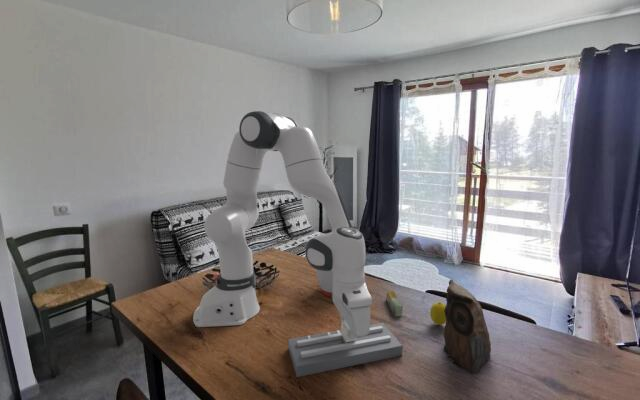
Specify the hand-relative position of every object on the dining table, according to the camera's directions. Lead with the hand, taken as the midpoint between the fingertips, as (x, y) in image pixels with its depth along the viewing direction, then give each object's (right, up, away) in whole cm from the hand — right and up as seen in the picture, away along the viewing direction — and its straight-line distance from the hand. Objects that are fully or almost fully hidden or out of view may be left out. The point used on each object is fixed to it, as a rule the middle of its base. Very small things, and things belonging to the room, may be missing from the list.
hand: (348, 332), depth 91 cm
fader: (0, -3, 0) cm, 3 cm away
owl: (+33, -6, -2) cm, 33 cm away
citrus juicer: (-3, +1, +38) cm, 38 cm away
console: (-1, -6, +1) cm, 6 cm away
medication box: (+18, -2, +25) cm, 31 cm away
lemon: (+30, -3, +14) cm, 34 cm away
